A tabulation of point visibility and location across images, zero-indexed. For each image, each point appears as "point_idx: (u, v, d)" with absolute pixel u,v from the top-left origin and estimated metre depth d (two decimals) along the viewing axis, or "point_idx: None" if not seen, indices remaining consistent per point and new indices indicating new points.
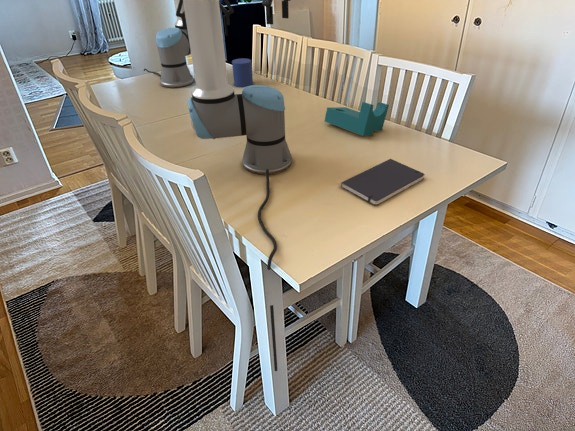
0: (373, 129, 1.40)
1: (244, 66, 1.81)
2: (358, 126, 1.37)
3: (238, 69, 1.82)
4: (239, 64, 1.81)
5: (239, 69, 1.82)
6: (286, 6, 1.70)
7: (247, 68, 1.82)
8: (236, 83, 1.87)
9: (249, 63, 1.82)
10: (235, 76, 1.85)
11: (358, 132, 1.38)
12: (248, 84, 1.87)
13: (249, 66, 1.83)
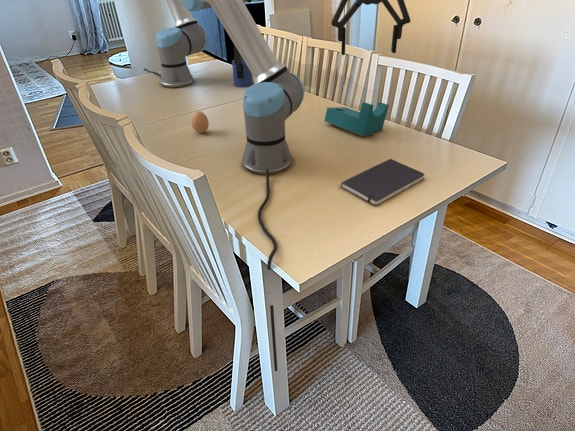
0: (373, 129, 1.40)
1: (244, 66, 1.81)
2: (358, 126, 1.37)
3: None
4: None
5: None
6: None
7: (247, 68, 1.82)
8: (236, 83, 1.87)
9: None
10: (235, 76, 1.85)
11: (358, 132, 1.38)
12: (248, 84, 1.87)
13: None
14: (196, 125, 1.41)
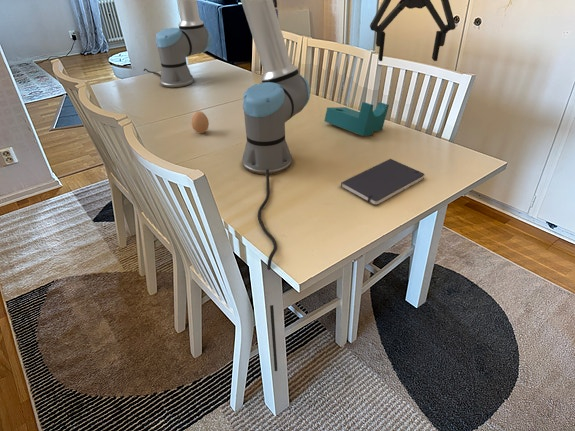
0: (373, 129, 1.40)
1: None
2: (358, 126, 1.37)
3: None
4: None
5: None
6: None
7: None
8: None
9: None
10: None
11: (358, 132, 1.38)
12: None
13: None
14: (196, 125, 1.41)
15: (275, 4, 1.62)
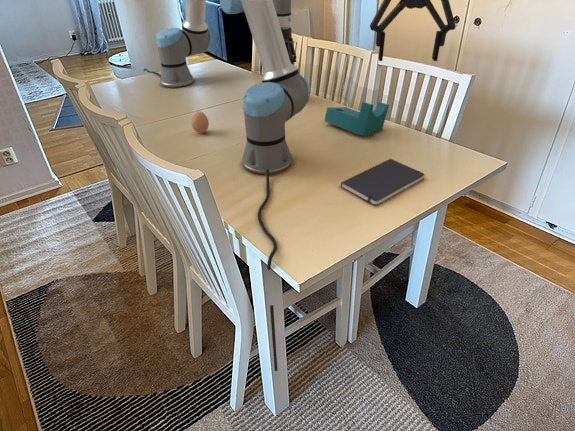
0: (373, 129, 1.40)
1: None
2: (358, 126, 1.37)
3: None
4: None
5: None
6: None
7: None
8: None
9: None
10: None
11: (358, 132, 1.38)
12: None
13: None
14: (196, 125, 1.41)
15: None
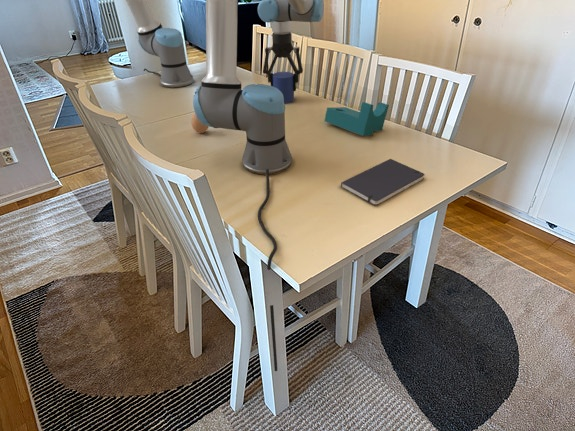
0: (373, 129, 1.40)
1: (282, 81, 1.63)
2: (358, 126, 1.37)
3: (276, 83, 1.64)
4: (277, 78, 1.62)
5: (277, 83, 1.64)
6: None
7: (286, 84, 1.63)
8: None
9: (289, 78, 1.63)
10: None
11: (358, 132, 1.38)
12: (286, 101, 1.68)
13: (289, 81, 1.64)
14: (196, 125, 1.41)
15: None
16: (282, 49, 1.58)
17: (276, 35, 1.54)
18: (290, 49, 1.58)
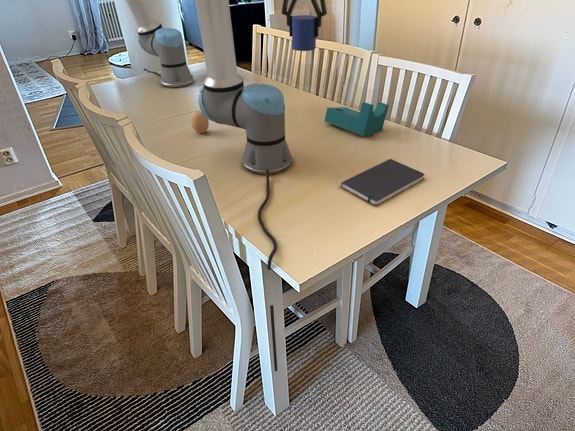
0: (373, 129, 1.40)
1: (301, 23, 1.42)
2: (358, 126, 1.37)
3: (295, 26, 1.44)
4: (296, 20, 1.43)
5: (295, 26, 1.44)
6: None
7: (305, 27, 1.43)
8: (292, 45, 1.49)
9: (310, 20, 1.42)
10: (292, 36, 1.48)
11: (358, 132, 1.38)
12: (305, 48, 1.47)
13: (309, 24, 1.43)
14: (196, 125, 1.41)
15: None
16: None
17: None
18: None
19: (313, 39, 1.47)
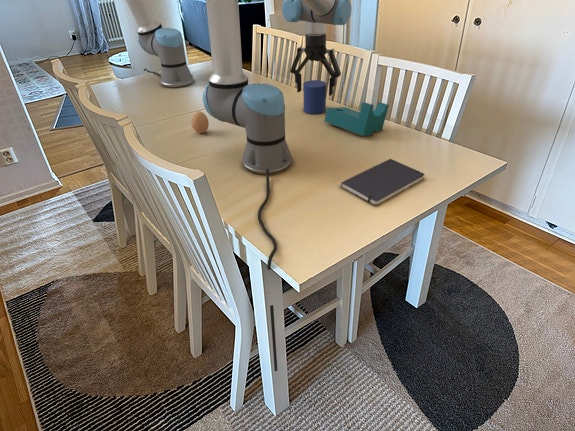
0: (373, 129, 1.40)
1: (311, 90, 1.52)
2: (358, 126, 1.37)
3: (305, 92, 1.55)
4: (307, 87, 1.53)
5: (306, 92, 1.54)
6: None
7: (315, 93, 1.53)
8: None
9: (319, 88, 1.52)
10: None
11: (358, 132, 1.38)
12: (315, 112, 1.57)
13: (319, 92, 1.53)
14: (196, 125, 1.41)
15: None
16: (315, 52, 1.47)
17: (308, 36, 1.43)
18: (323, 52, 1.46)
19: (323, 104, 1.57)
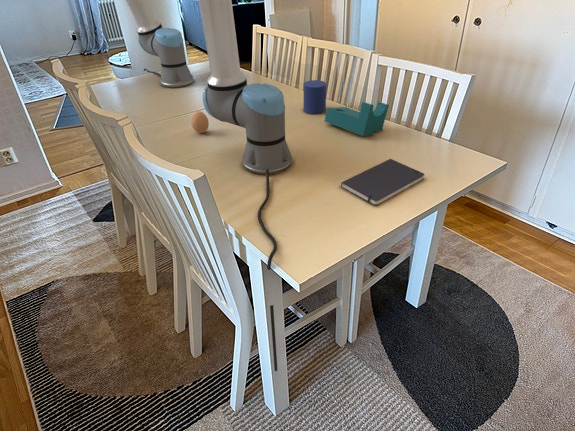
0: (373, 129, 1.40)
1: (311, 90, 1.52)
2: (358, 126, 1.37)
3: (305, 92, 1.55)
4: (307, 87, 1.53)
5: (306, 92, 1.54)
6: None
7: (315, 93, 1.53)
8: None
9: (319, 88, 1.52)
10: None
11: (358, 132, 1.38)
12: (315, 112, 1.57)
13: (319, 92, 1.53)
14: (196, 125, 1.41)
15: None
16: None
17: None
18: None
19: (323, 104, 1.57)
